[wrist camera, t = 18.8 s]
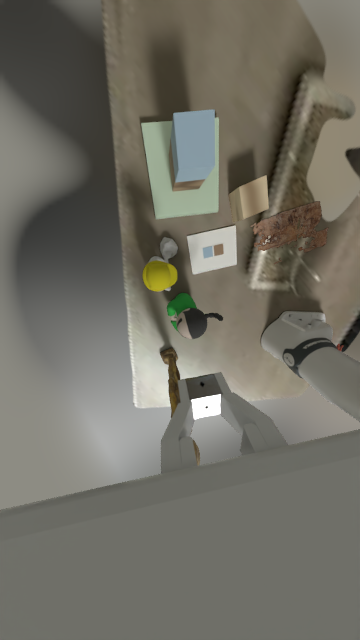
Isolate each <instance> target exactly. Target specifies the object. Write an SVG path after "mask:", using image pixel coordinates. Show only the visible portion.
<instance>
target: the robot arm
mask: <svg viewBox="0 0 360 640" xmlns="http://www.w3.org/2000/svg"><path fill="white" fill-rule="evenodd" d="M332 335H333V330H332V327H331V326H330V325H329V324H327V323H325V315H324V313H322V312H298V311H285V312H283V313H282V314H281V316H280V317H279V318H278V319H277V320H276V321H274V322H273V323H272V324H271V325H269V326H268V327H267V329H266V330H265V331H264V333H263V335H262V338H261V345H262V347H263V349H264V350H266V351H268V352H269V353H271V354H272V355H273V356H274V357H275V358H278V359H279V360H281V361H282V362H283V363H285V364H286V365H287V366H288V367H289V368H290V369H291V370H292V371H293V372H294V373H295V374H296V375H298V376H299V377H300V378H303V379H304V380H305V381H307V382H308V383H309V384H310V385H311V386H312V387H313V388H314V389H315V390H316V391H317V392H319V393H320V394H321V395H322V396H323V397H324V398H325V399H326V400H327V401H328V402H330V403H332V404H334V405H336V406H338V407H339V408H341V409H342V410H344V411H345V412H346V413H348V414H349V415H351V416H352V417H353V418H355V419H356V420H358V421H359V422H360V362H359V361H357V360H355V359H353V358H351V357H350V356H348V355H346V354H344V353H343V352H341V349H342V347H343V345H342V346H341V347H340V344H338V345H337V347H336V346H335V345H334V344H333V343H332V342H331V340H332ZM339 348H340V349H339ZM178 387H179V394H180V401H181V403H178V405H177V408H176V410H175V412H174V414H173V416H172V418H171V420H170V423H169V425H168V427H167V429H166V431H165V433H164V436H163V438H162V440H161V474H158V475H154V476H149V477H145V478H140V479H136V480H131V481H127V482H122V483H118V484H114V485H109V486H105V487H100V488H96V489H91V490H87V491H83V492H78V493H74V494H69V495H65V496H60V497H56V498H51V499H47V500H42V501H38V502H33V503H29V504H25V505H20V506H16V507H11V508H7V509H3V510H0V640H360V429H359V430H354V431H350V432H346V433H341V434H337V435H332V436H328V437H324V438H319V439H315V440H310V441H306V442H301V443H297V444H292V445H288V444H287V442H286V441H285V439H284V438H283V436H282V435H281V433H280V432H279V430H278V429H277V427H276V426H275V424H274V422H273V421H272V419H271V418H270V417H268V416H267V415H265V414H264V413H263V412H261V411H260V410H258V409H257V408H255V407H254V406H252V405H251V404H250V403H248V402H247V401H245V400H244V399H243V398H241V397H240V396H238V395H237V394H235V393H232V392H231V391H230V389H229V387H228V385H227V383H226V381H225V379H224V377H223V375H222V373H221V372H220V373H214V374H209V375H204V376H199V377H194V378H187V379H182V380H178ZM216 414H220V415H221V416H222V417H224V419H225V420H226V421H227V422H228V423H229V424H230V425H231V426H232V427H233V428H234V429H235V430H236V431H237V432H238V433H239V434H240V435H241V436H242V442H241V449H240V451H241V453H242V456H238V457H234V458H230V459H225V460H221V461H216V462H212V463H207V464H203V465H198V466H197V461H196V456H195V450H194V445H193V439H192V438H191V437H190V434H191V431H192V427H193V424H194V419H197V418H201V417H205V416H211V415H216Z"/></svg>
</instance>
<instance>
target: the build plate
mask: <svg viewBox="0 0 360 640" xmlns="http://www.w3.org/2000/svg"><path fill="white" fill-rule="evenodd" d="M141 126H142V133H143V139H144V145H145V152H146V158H147V165H148V171H149V178H150V184H151V191H152V197H153V204H154V210H155V217H156V219H163V218H172V217H181V216H190V215H198V214H207V213H216V212H218V183H219V118H215V167H214V168H213V169H212V171H211V172H210V174H209V175H208V177H207V178H206V179H205V181H204V182H203V184H202V185H201V186H200V188H199V189H194V190H184V191H174V192H173V191H172V181H171V172H170V162H169V147H170V138H171V130H172V121H164V122H150V123H141Z"/></svg>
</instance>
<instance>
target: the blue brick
mask: <svg viewBox="0 0 360 640" xmlns="http://www.w3.org/2000/svg"><path fill="white" fill-rule="evenodd" d="M171 146H172V155H173V165H174V175H175V183H176V182H185V181H194V180H202V179H206V178H207V177H208V175H209V174H210V172H211V171H212V169H213V168H214V167H215V110H203V111H191V112H179V113H173V121H172V130H171Z"/></svg>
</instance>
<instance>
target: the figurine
mask: <svg viewBox="0 0 360 640" xmlns="http://www.w3.org/2000/svg"><path fill="white" fill-rule="evenodd" d="M177 250H178V247H177V245H176V243H175V242H174V240H173V239H170V238H166V237H164V238H163V240H162V241H161V243H160V252H161V253H162V256H163V258H164V260H163V259H162V258H160V257H158V256H153V257H152V258H151V259H150V260H149V262H148V263H147V265H146V266H145V267H144V269H143V281H144V283H145V285H146V287H147V288H148V289H150V290H152V291H158V292H159V291H163V290H167V291H170V290H171V286H172V285H174V284H175V282H176V281H177V270H176V268H175V267H174V266H173V265H171V264H169V263H168V259H170V258H172V257H173V256H174V255H176V254H177Z"/></svg>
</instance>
